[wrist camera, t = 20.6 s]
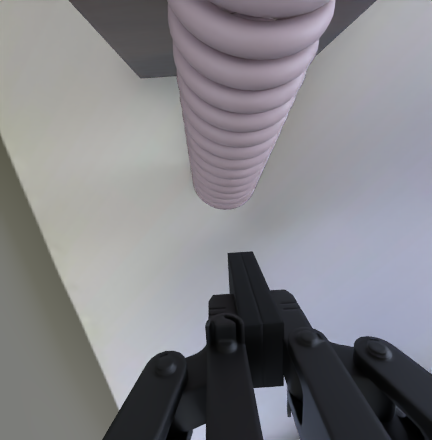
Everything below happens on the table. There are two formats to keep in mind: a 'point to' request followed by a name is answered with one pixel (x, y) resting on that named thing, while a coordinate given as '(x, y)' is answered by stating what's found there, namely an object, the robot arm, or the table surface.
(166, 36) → the walnut block
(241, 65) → the coil
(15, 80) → the table surface
